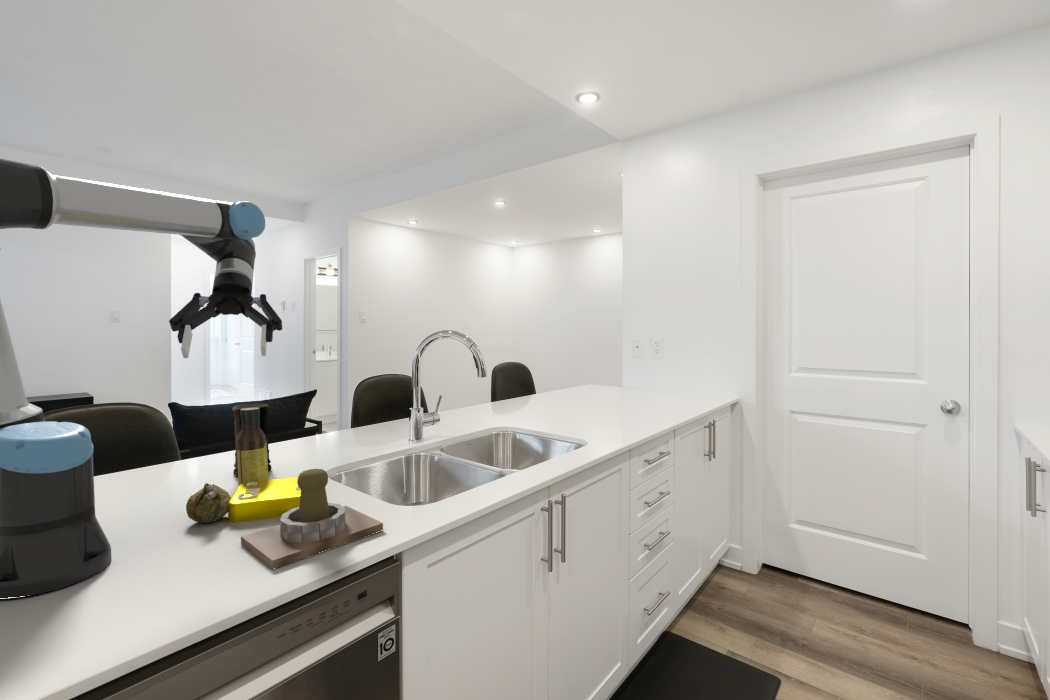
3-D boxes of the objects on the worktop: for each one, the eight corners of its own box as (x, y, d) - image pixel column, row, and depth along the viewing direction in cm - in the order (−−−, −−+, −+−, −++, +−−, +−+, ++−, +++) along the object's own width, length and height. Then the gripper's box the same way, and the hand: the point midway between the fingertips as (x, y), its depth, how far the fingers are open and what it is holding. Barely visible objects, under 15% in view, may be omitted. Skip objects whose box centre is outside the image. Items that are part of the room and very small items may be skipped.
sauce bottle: (275, 490, 118) (272, 407, 117) (251, 498, 112) (248, 411, 111) (256, 487, 120) (253, 405, 119) (232, 495, 114) (228, 409, 113)
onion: (242, 514, 103) (240, 476, 102) (208, 530, 95) (206, 488, 95) (213, 511, 105) (211, 473, 104) (177, 526, 97) (175, 485, 97)
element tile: (309, 515, 103) (308, 492, 103) (226, 526, 98) (225, 502, 97) (312, 493, 117) (312, 473, 117) (240, 501, 112) (239, 480, 111)
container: (238, 469, 135) (235, 403, 135) (274, 466, 138) (272, 402, 137) (229, 478, 127) (226, 409, 126) (268, 475, 130) (265, 407, 129)
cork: (337, 523, 94) (336, 465, 93) (321, 536, 88) (320, 475, 87) (307, 522, 94) (305, 465, 94) (289, 535, 88) (287, 474, 88)
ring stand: (272, 569, 79) (271, 542, 79) (241, 544, 88) (240, 519, 88) (383, 530, 94) (382, 507, 94) (346, 512, 103) (345, 491, 103)
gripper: (295, 296, 120) (294, 362, 106) (171, 294, 110) (153, 367, 97) (293, 272, 114) (292, 338, 101) (163, 267, 105) (144, 340, 92)
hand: (224, 352), depth 99 cm, fingers open, 13 cm apart
